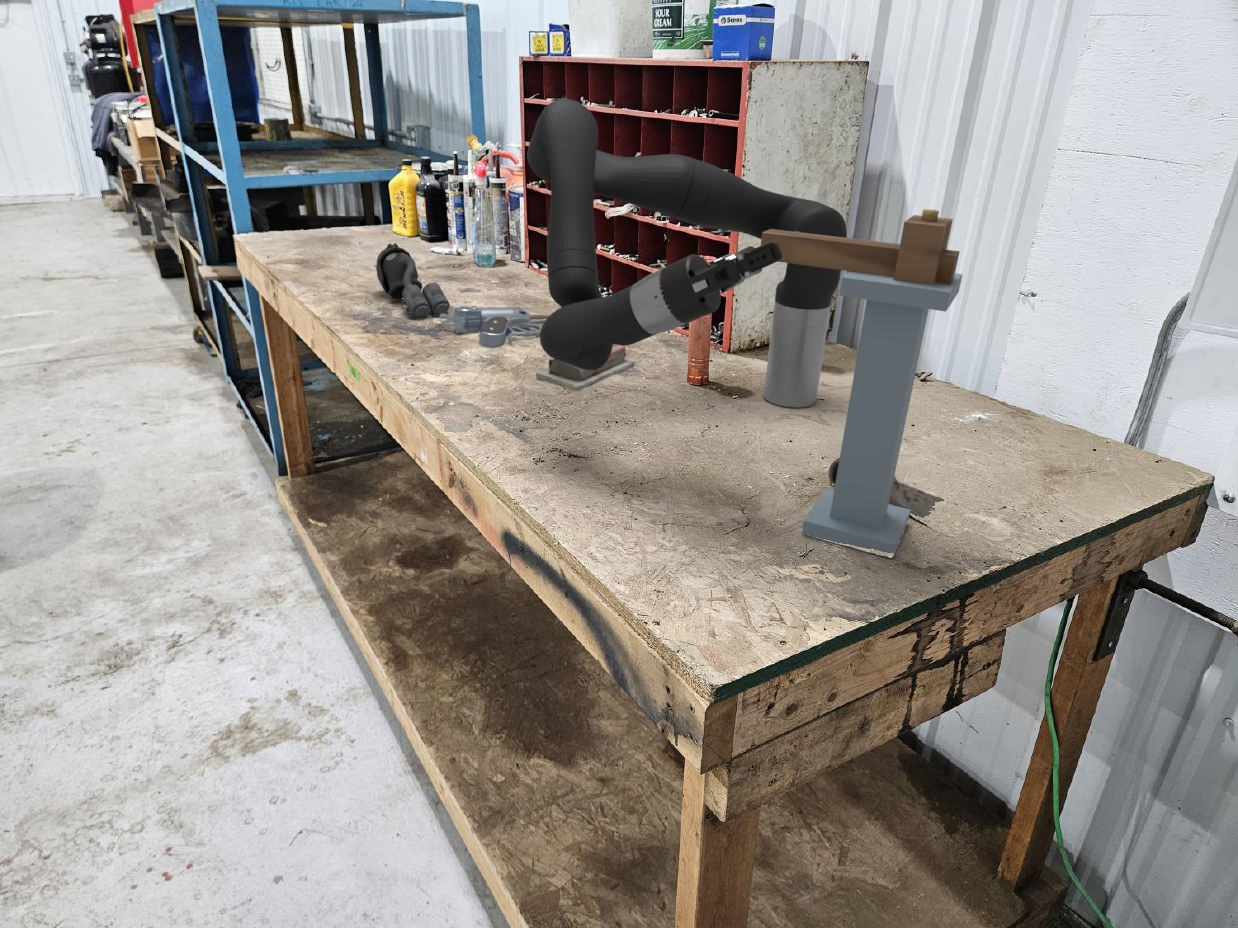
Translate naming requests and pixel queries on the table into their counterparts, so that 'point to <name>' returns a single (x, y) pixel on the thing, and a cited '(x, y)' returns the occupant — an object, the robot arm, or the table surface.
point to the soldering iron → (494, 323)
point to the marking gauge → (878, 251)
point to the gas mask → (409, 284)
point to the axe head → (901, 495)
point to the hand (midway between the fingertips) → (790, 244)
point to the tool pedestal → (877, 411)
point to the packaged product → (580, 377)
